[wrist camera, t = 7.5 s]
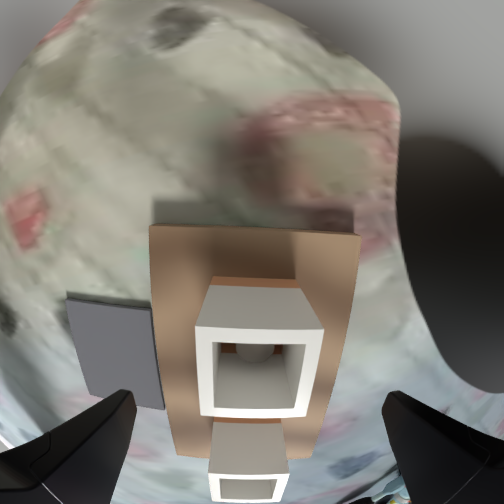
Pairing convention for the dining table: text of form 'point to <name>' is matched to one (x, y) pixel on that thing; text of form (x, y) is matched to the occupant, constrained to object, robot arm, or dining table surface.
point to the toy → (395, 487)
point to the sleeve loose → (256, 332)
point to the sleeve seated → (247, 460)
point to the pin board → (247, 261)
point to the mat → (116, 350)
